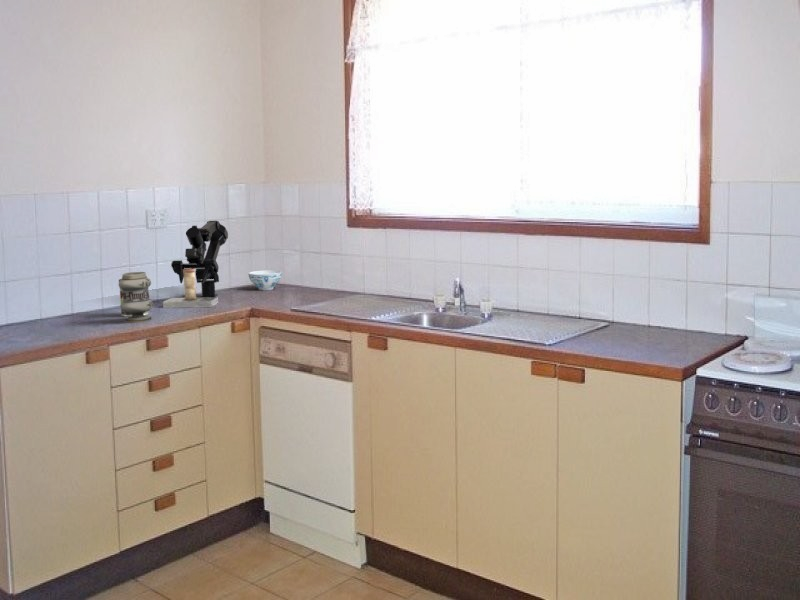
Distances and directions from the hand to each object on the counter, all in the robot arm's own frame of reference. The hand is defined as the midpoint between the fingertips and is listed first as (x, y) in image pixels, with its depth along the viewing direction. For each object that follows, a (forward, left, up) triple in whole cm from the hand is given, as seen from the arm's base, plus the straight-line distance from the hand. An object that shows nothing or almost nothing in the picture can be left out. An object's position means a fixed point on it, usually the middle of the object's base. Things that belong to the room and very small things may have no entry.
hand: (191, 282), depth 392 cm
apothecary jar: (+36, -10, -9) cm, 39 cm away
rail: (+3, 0, -9) cm, 10 cm away
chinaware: (-42, +21, -9) cm, 48 cm away
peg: (+3, 0, -9) cm, 10 cm away
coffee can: (+23, -16, -9) cm, 30 cm away
